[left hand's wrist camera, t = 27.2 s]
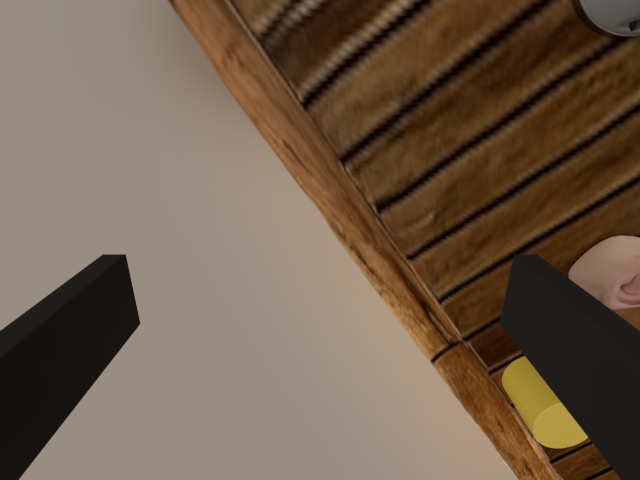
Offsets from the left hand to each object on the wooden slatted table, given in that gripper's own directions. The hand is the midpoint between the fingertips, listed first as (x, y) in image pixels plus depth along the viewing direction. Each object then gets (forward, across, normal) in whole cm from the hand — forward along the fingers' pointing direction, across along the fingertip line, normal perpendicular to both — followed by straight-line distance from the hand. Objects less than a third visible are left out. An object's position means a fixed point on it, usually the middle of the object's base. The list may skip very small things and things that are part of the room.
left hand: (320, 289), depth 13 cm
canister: (+37, +35, -37) cm, 63 cm away
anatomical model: (+37, +43, -18) cm, 60 cm away
